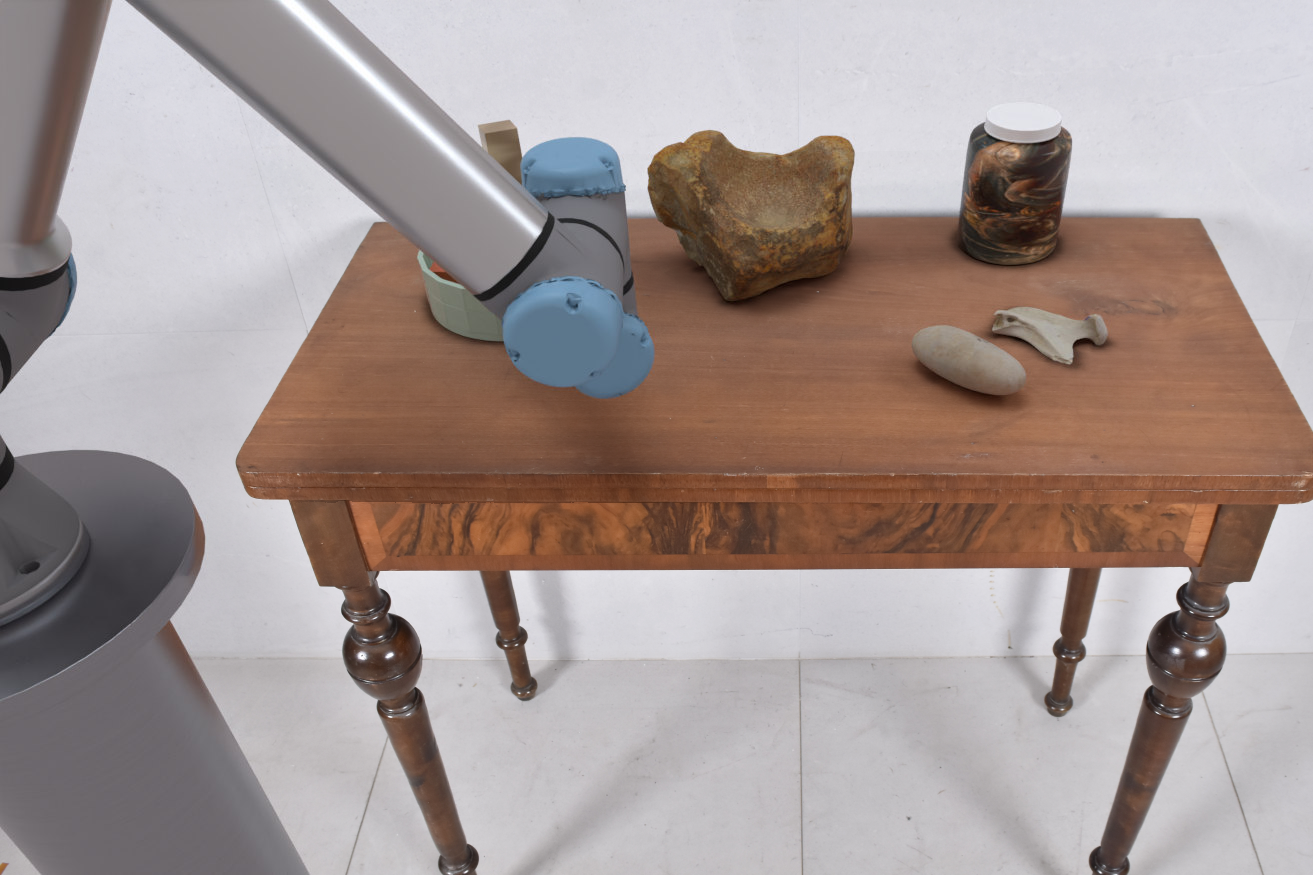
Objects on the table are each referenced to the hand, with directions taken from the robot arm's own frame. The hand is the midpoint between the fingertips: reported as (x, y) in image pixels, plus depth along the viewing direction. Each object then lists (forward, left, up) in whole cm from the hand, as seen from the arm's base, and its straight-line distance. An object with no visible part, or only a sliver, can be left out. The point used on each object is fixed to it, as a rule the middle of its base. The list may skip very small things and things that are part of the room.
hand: (499, 181), depth 112 cm
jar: (+55, -14, -13) cm, 58 cm away
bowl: (0, -1, -13) cm, 13 cm away
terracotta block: (-7, 0, -12) cm, 14 cm away
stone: (+35, -37, -13) cm, 53 cm away
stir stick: (0, -6, -9) cm, 10 cm away
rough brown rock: (+25, -9, -13) cm, 30 cm away
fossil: (+47, -34, -13) cm, 60 cm away
